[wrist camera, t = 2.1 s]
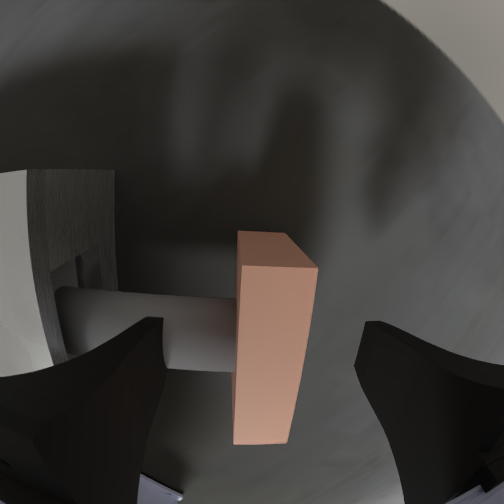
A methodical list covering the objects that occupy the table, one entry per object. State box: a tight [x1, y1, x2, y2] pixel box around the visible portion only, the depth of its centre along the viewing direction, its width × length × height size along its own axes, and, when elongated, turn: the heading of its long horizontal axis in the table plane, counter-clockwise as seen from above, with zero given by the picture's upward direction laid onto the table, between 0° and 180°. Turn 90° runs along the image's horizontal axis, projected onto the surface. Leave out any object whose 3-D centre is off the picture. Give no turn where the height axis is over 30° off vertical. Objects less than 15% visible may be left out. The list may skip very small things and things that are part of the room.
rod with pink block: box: [51, 231, 318, 444], centre depth 10 cm, size 7×19×5 cm, turn 86°
